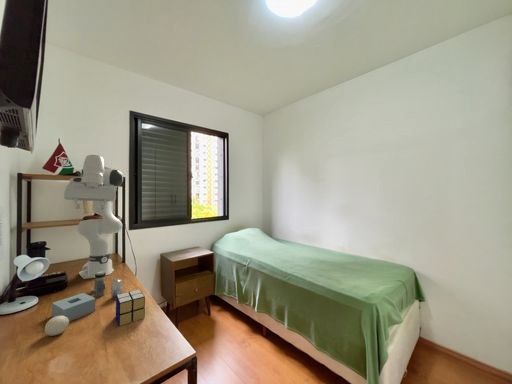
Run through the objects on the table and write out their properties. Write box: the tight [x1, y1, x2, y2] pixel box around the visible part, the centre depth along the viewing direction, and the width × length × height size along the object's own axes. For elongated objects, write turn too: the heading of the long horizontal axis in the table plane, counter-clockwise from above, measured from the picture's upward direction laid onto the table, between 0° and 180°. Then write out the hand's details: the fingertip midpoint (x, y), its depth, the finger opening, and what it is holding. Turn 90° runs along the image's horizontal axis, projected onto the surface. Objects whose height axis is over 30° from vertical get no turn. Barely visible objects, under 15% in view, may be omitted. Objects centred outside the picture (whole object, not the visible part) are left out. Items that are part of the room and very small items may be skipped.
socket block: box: [51, 292, 96, 322], centre depth 100 cm, size 12×12×6 cm
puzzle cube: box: [115, 288, 146, 327], centre depth 97 cm, size 10×10×10 cm
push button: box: [91, 271, 106, 291], centre depth 126 cm, size 7×5×10 cm
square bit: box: [93, 278, 105, 298], centre depth 118 cm, size 3×3×9 cm
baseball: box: [44, 316, 70, 337], centre depth 86 cm, size 7×7×7 cm
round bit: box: [110, 278, 123, 300], centre depth 117 cm, size 5×5×9 cm
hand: (90, 208), depth 103 cm, fingers open, 8 cm apart
